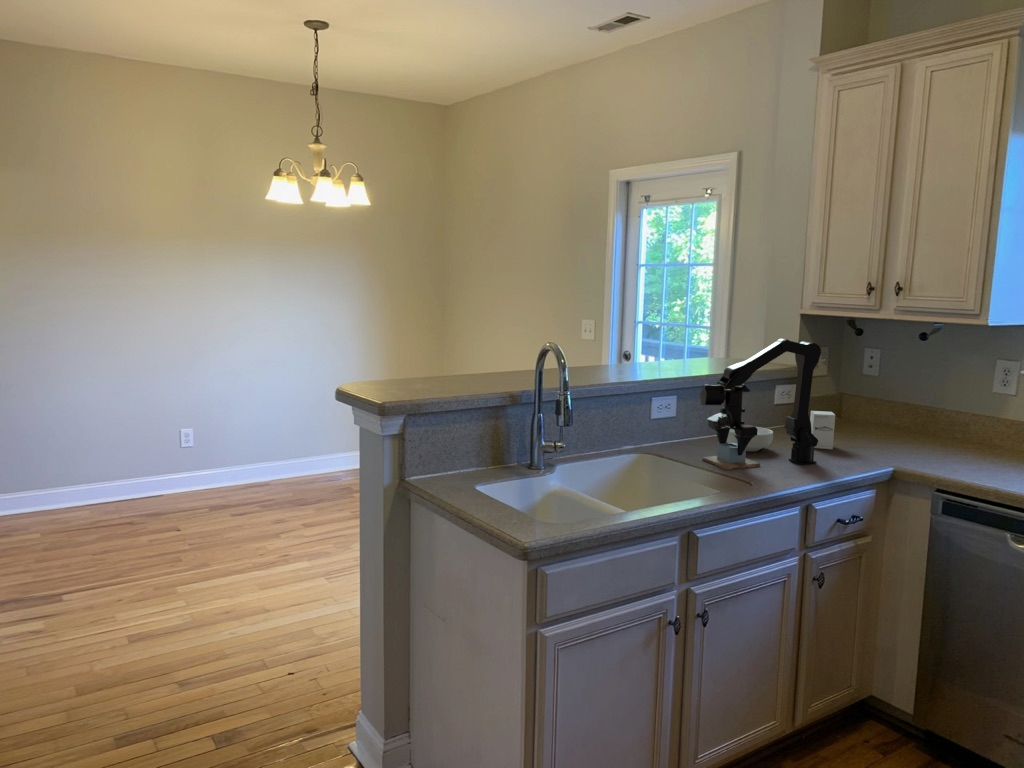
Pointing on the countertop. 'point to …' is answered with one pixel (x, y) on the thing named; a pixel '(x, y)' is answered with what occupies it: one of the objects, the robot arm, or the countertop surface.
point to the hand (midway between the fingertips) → (731, 452)
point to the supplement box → (823, 428)
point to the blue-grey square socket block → (730, 453)
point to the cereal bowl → (754, 439)
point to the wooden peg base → (730, 465)
